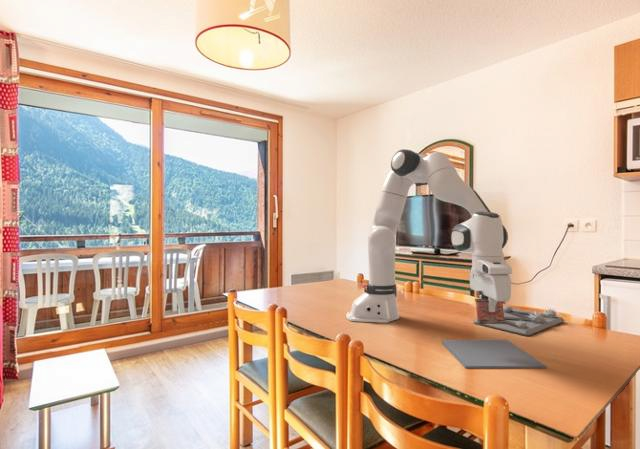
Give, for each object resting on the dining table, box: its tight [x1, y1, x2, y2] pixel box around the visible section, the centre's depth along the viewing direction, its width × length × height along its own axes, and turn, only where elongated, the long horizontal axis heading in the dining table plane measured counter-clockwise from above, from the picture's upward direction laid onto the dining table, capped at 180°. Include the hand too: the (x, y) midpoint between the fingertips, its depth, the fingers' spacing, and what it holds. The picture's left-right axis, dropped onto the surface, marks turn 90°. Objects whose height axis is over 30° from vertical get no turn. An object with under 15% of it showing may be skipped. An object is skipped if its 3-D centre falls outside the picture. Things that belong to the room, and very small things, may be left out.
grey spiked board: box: [472, 303, 565, 337], centre depth 142 cm, size 30×22×7 cm
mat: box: [440, 339, 547, 369], centre depth 110 cm, size 22×22×1 cm
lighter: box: [474, 291, 505, 325], centre depth 109 cm, size 8×3×10 cm, turn 85°
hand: (488, 309), depth 110 cm, fingers closed on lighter, 2 cm apart
